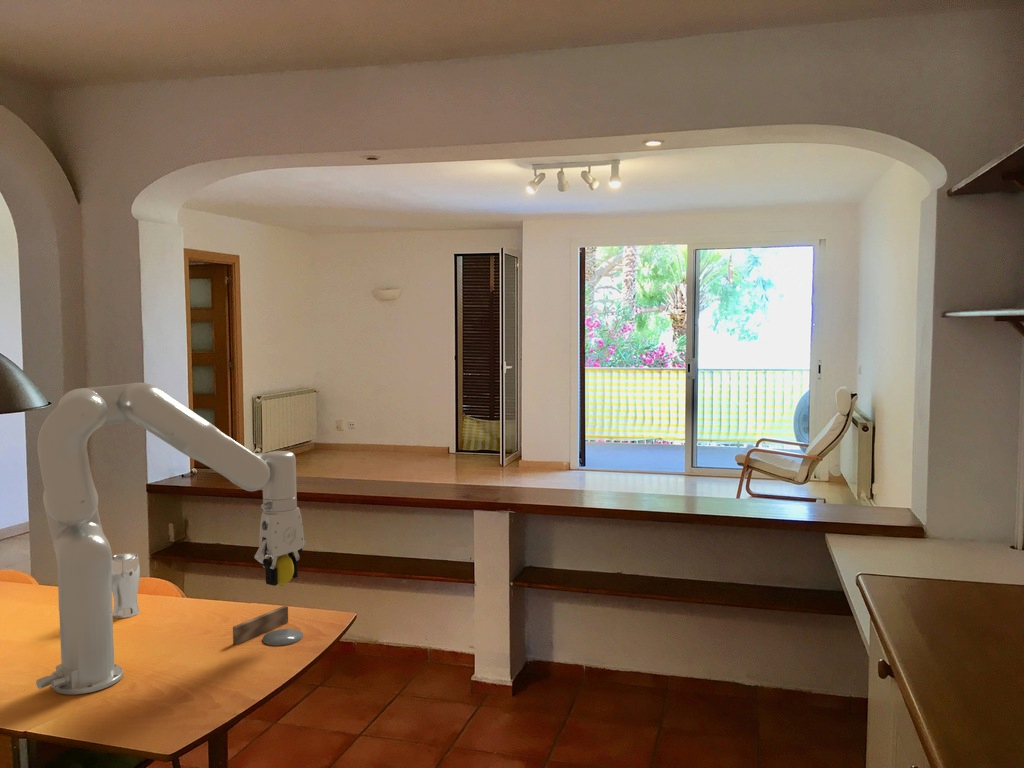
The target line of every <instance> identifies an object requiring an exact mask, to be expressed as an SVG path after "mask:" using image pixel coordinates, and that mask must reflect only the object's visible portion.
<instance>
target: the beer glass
mask: <svg viewBox="0 0 1024 768" xmlns="http://www.w3.org/2000/svg"><path fill="white" fill-rule="evenodd" d="M139 559H140V558H139V554H138V553H135V552H134V553H133V552H124V553H119V554H115V555H112V595H113V596H112V598H113V609H112V614H113V618H116V619H128V618H132V617H135V616H137V615H139V613H140V607H139V604H138V593H139V588H140V587H139V585H140V577H141V568H140V560H139Z"/></svg>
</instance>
